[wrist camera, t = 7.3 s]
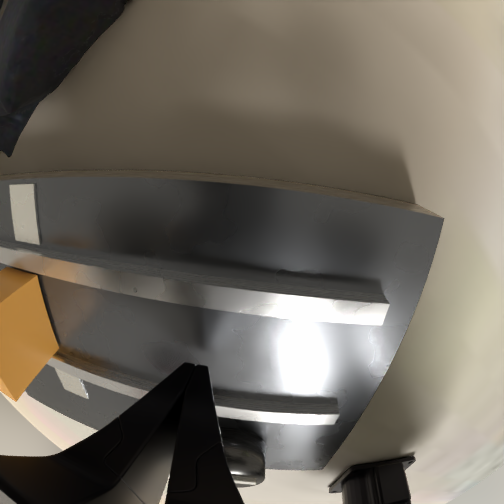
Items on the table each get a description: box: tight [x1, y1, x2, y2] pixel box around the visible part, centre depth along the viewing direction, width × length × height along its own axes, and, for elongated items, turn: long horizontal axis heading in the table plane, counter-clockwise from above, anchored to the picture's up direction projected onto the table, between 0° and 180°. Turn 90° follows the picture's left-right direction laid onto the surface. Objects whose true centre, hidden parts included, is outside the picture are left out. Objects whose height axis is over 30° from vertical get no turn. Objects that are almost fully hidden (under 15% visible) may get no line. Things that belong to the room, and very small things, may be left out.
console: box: [0, 170, 444, 487], centre depth 10 cm, size 16×22×4 cm
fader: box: [0, 267, 59, 401], centre depth 8 cm, size 4×2×4 cm, turn 174°
